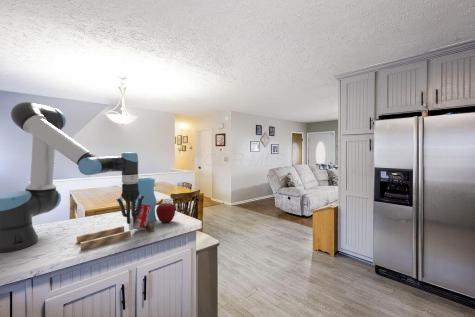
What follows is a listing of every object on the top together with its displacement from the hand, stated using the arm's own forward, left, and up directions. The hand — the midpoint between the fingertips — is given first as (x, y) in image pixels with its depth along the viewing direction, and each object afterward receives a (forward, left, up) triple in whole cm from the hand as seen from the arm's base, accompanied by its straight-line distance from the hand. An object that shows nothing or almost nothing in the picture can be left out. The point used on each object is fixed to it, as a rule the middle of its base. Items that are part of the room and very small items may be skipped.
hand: (131, 229), depth 114 cm
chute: (-10, -6, -2) cm, 12 cm away
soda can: (+2, +3, -1) cm, 4 cm away
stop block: (+7, +6, -2) cm, 9 cm away
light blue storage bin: (+1, +23, -3) cm, 23 cm away
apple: (+14, +17, -3) cm, 22 cm away
